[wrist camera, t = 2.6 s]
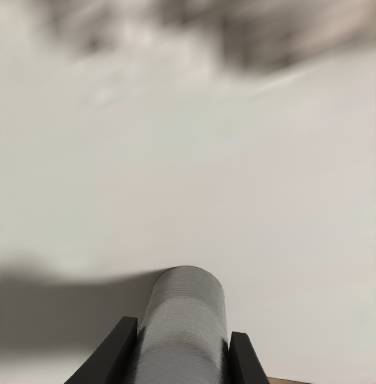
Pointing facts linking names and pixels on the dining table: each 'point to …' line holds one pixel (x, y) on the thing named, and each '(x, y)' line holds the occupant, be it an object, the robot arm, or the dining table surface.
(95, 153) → the dining table surface
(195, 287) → the steel key peg
